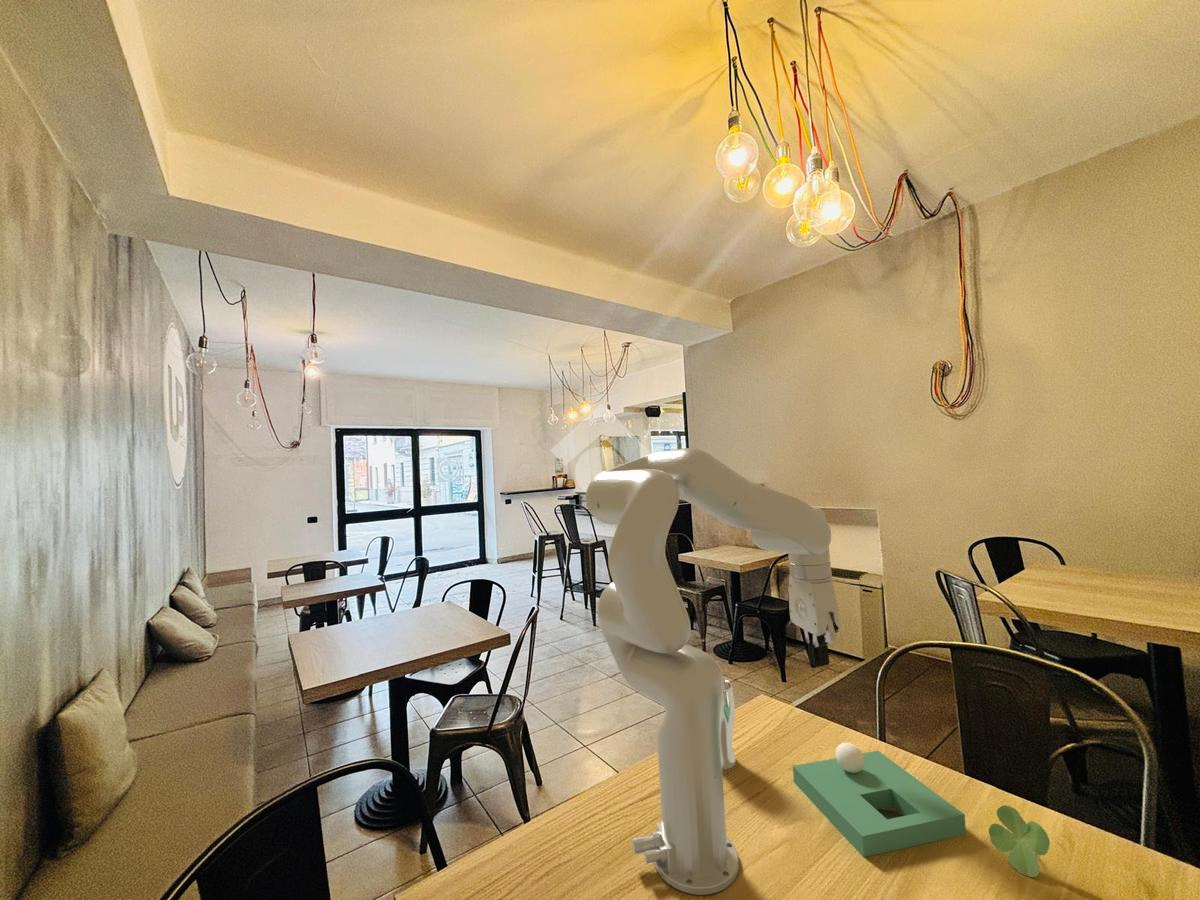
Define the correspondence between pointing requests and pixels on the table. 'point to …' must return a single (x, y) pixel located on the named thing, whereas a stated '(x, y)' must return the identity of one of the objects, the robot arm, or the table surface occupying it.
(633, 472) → the robot arm
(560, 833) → the table surface
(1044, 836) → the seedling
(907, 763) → the table surface
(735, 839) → the table surface
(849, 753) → the ball
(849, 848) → the table surface
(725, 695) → the white bottle
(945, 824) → the putting board
